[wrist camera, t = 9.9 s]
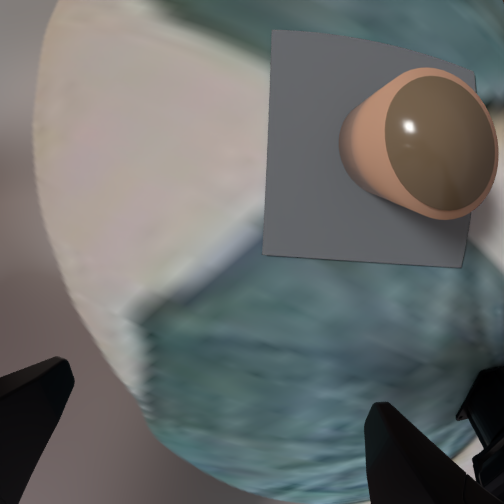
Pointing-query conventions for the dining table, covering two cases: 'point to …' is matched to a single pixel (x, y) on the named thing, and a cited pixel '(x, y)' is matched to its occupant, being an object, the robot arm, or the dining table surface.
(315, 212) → the mat
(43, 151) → the dining table surface
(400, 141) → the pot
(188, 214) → the dining table surface
